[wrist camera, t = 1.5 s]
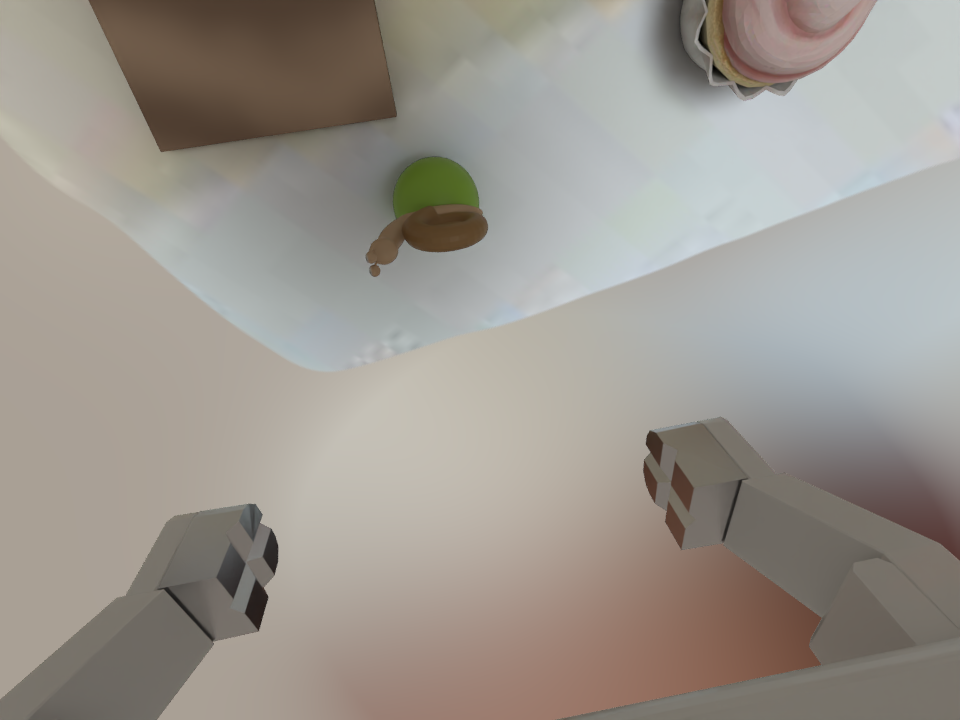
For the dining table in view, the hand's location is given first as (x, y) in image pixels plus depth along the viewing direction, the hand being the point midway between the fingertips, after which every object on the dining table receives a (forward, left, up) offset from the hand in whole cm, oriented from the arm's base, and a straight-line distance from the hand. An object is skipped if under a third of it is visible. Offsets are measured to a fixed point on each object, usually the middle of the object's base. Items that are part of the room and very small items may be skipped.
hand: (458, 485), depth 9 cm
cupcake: (-8, +20, -26) cm, 34 cm away
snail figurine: (0, 0, -26) cm, 26 cm away
